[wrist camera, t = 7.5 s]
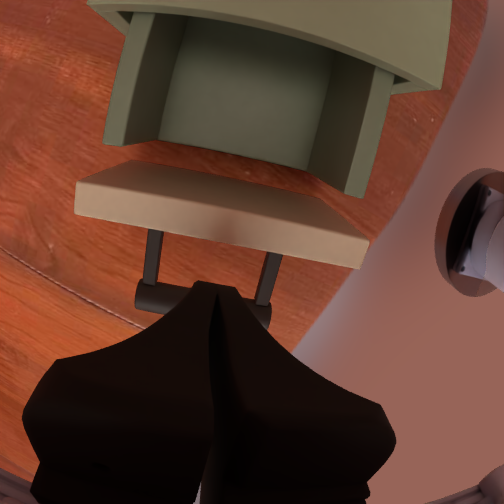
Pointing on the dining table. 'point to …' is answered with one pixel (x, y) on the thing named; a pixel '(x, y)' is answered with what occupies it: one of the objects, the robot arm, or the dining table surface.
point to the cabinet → (330, 28)
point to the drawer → (237, 144)
